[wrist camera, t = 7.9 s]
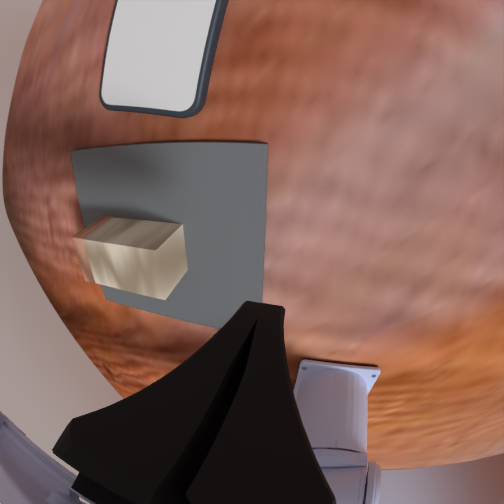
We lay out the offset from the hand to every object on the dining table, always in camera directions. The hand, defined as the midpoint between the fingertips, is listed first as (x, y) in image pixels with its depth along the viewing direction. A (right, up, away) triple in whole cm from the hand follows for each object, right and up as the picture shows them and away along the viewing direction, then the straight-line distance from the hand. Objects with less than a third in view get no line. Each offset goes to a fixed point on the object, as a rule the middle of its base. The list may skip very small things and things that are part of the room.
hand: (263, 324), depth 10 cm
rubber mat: (-8, +3, +13) cm, 15 cm away
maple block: (-6, +2, +10) cm, 12 cm away
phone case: (-6, +19, +4) cm, 21 cm away
